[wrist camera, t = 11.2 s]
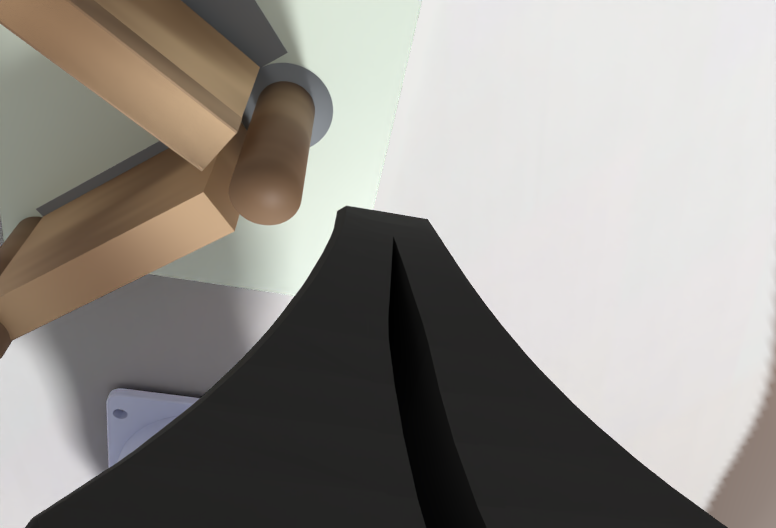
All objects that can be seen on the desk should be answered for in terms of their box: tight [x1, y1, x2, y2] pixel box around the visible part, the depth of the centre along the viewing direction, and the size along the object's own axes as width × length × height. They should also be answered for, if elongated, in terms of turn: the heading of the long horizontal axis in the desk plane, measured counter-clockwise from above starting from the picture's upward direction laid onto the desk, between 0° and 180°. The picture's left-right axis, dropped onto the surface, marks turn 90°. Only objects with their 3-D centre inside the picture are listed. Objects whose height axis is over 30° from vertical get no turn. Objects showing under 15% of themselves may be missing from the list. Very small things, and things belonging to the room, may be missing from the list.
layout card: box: [0, 0, 422, 296], centre depth 18 cm, size 16×11×1 cm
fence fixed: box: [0, 81, 315, 359], centre depth 18 cm, size 2×10×5 cm, turn 118°
